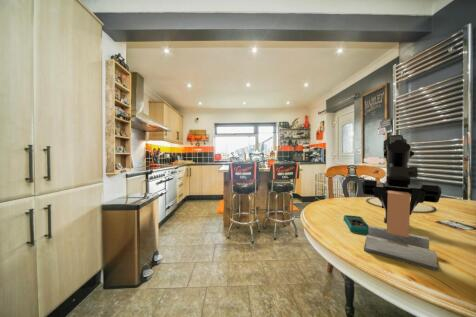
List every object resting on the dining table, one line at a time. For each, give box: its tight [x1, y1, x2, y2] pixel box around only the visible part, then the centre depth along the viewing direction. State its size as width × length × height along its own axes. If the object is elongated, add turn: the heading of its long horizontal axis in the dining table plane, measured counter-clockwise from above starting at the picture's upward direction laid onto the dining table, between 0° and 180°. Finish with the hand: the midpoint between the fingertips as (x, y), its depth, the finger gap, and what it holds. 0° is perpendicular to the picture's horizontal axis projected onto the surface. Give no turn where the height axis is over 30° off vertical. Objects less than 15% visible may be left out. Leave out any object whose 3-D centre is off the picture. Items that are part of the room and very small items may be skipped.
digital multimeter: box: [343, 214, 369, 235], centre depth 76 cm, size 7×15×3 cm, turn 159°
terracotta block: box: [386, 190, 411, 238], centre depth 56 cm, size 5×5×12 cm
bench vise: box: [363, 225, 440, 272], centre depth 59 cm, size 20×16×4 cm
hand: (397, 212), depth 55 cm, fingers closed on terracotta block, 5 cm apart
